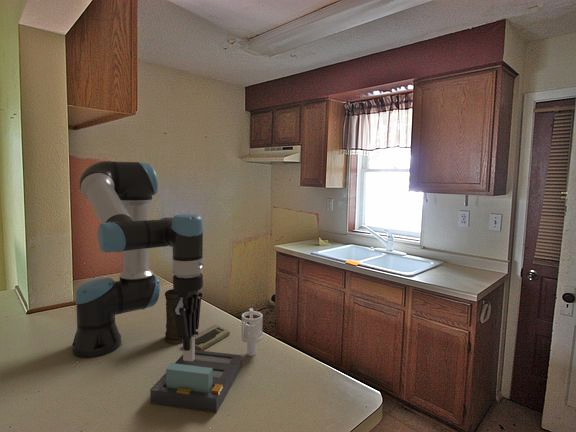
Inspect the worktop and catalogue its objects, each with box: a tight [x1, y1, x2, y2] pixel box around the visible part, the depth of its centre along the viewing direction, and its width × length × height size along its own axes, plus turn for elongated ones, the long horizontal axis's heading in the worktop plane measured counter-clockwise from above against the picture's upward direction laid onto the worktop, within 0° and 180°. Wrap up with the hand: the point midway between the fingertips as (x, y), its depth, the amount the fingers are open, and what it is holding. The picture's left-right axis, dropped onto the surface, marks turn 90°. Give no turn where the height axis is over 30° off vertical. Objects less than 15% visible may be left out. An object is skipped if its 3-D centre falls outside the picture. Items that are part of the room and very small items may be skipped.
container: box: [164, 288, 183, 345], centre depth 129 cm, size 9×9×18 cm
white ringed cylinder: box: [241, 307, 264, 357], centre depth 120 cm, size 7×7×15 cm
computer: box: [194, 324, 231, 351], centre depth 129 cm, size 16×8×3 cm, turn 150°
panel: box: [165, 362, 213, 394], centre depth 95 cm, size 12×3×8 cm, turn 80°
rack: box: [149, 350, 243, 414], centre depth 102 cm, size 18×22×5 cm
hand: (188, 359), depth 94 cm, fingers closed
